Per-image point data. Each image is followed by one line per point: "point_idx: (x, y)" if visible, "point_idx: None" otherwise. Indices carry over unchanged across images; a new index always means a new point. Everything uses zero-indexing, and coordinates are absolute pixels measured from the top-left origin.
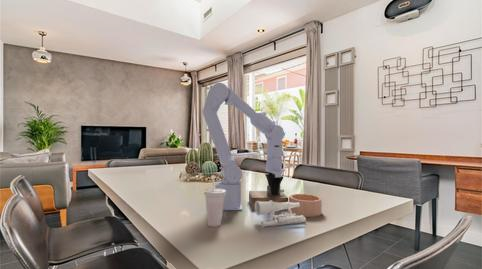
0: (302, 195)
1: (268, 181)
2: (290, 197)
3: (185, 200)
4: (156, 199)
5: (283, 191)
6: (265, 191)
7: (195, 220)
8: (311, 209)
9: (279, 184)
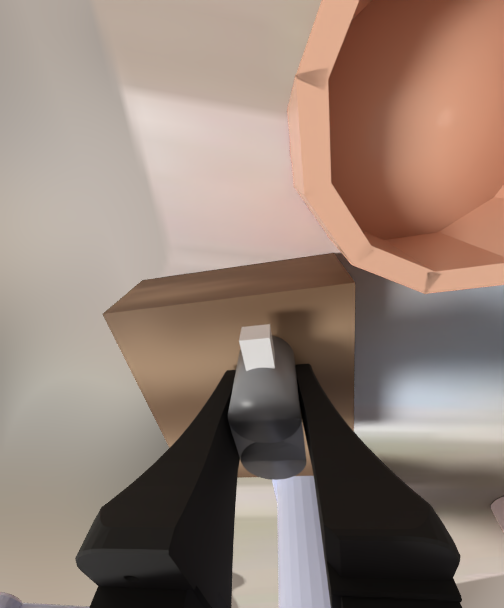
0: (327, 117)
1: (234, 508)
2: (478, 287)
3: (244, 557)
4: (248, 591)
5: (269, 332)
6: (166, 412)
7: (458, 534)
8: None
9: (355, 439)
